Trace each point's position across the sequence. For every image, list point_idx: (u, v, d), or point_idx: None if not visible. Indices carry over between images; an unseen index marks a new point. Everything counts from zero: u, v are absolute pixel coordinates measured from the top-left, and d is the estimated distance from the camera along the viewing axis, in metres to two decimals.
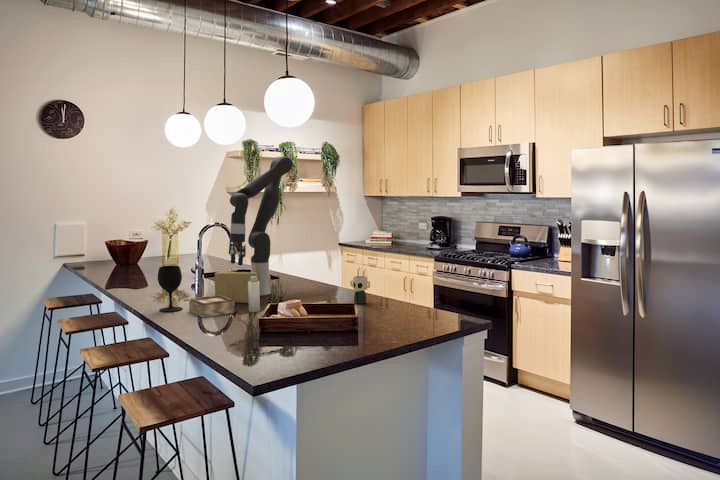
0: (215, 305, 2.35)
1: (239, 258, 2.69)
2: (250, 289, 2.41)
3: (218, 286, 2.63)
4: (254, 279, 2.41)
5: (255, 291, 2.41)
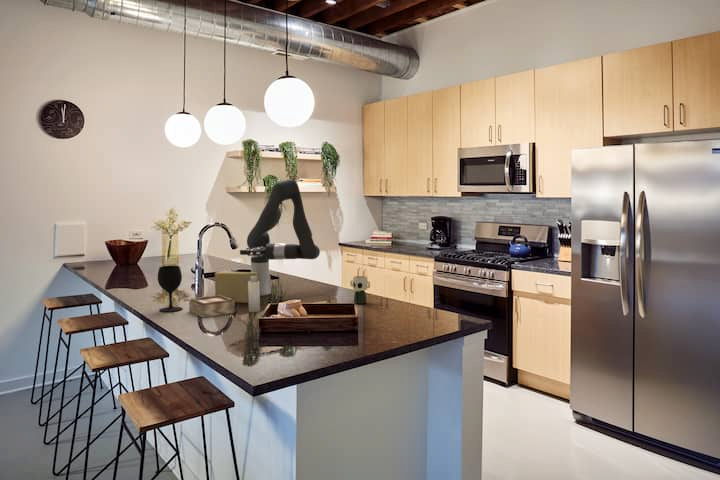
0: (215, 305, 2.35)
1: None
2: (250, 289, 2.41)
3: (219, 286, 2.63)
4: (254, 279, 2.41)
5: (255, 291, 2.41)
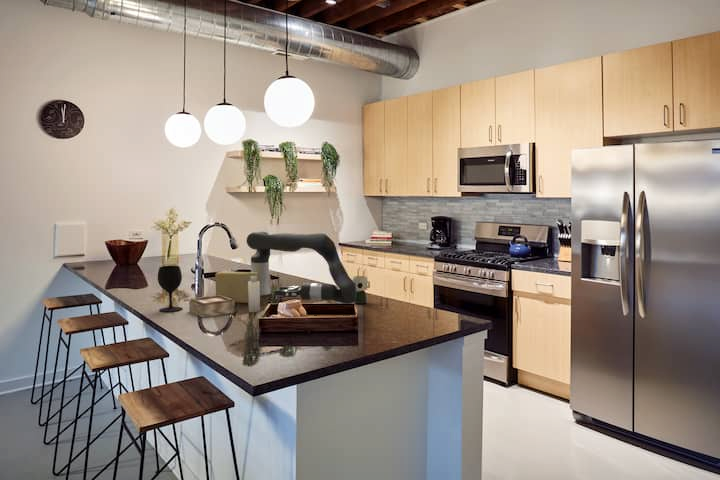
0: (215, 305, 2.35)
1: (287, 290, 2.46)
2: (250, 289, 2.41)
3: (219, 286, 2.63)
4: (254, 279, 2.41)
5: (255, 291, 2.41)
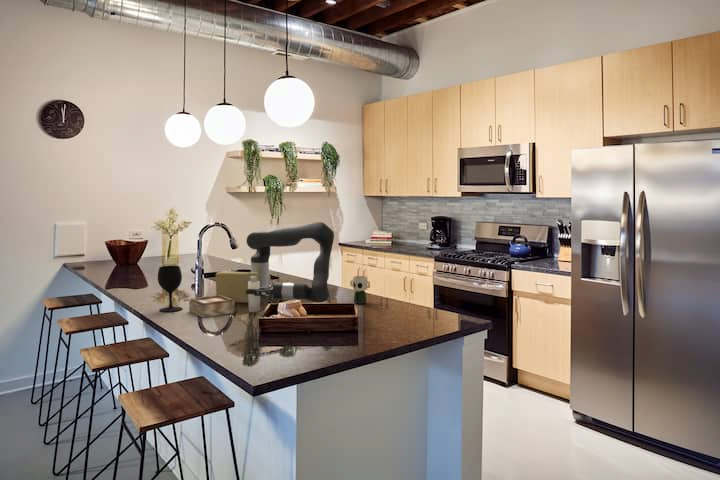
0: (215, 305, 2.35)
1: None
2: None
3: (219, 286, 2.63)
4: (254, 279, 2.41)
5: None
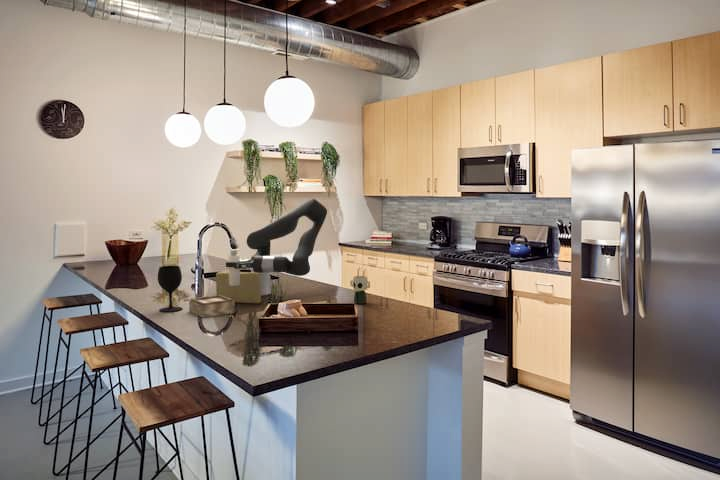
0: (215, 305, 2.35)
1: None
2: None
3: (220, 286, 2.63)
4: (234, 252, 2.39)
5: None
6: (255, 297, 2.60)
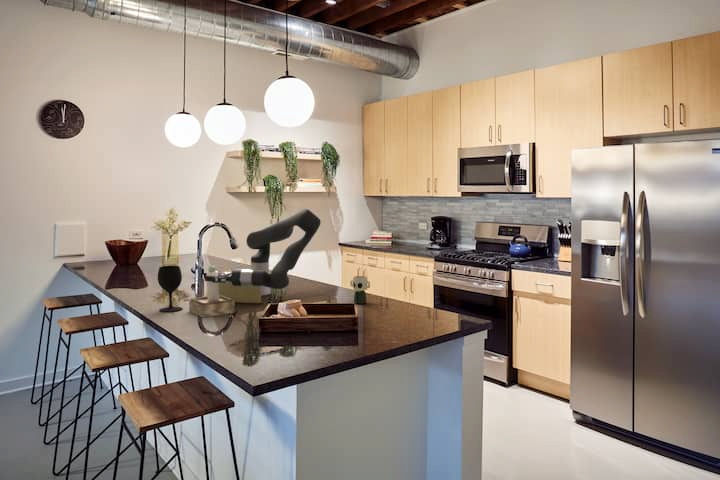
0: (215, 305, 2.35)
1: (219, 277, 2.44)
2: None
3: (220, 286, 2.63)
4: (212, 269, 2.38)
5: None
6: (255, 297, 2.60)
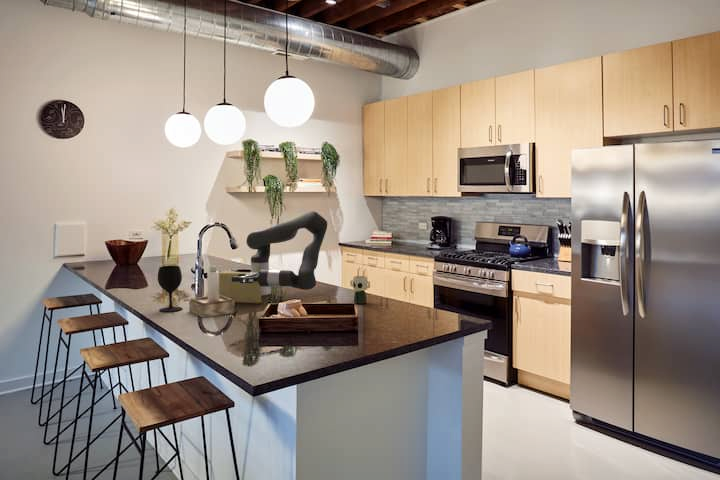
0: (215, 305, 2.35)
1: None
2: (209, 279, 2.38)
3: (220, 286, 2.63)
4: (213, 269, 2.38)
5: (214, 281, 2.38)
6: (255, 297, 2.60)
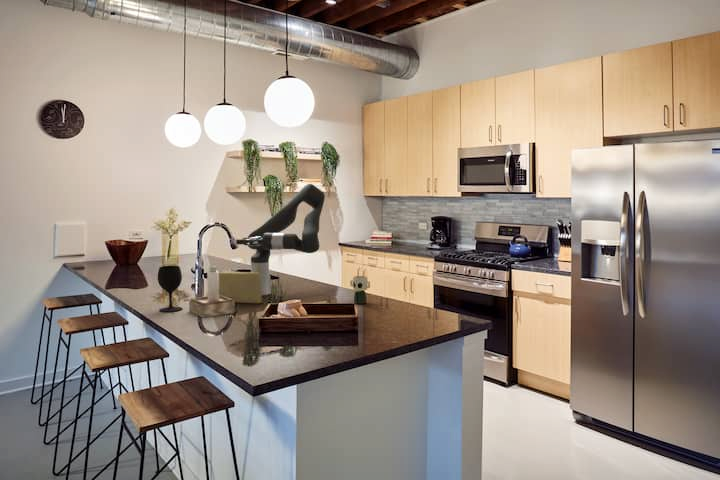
0: (215, 305, 2.35)
1: None
2: (209, 279, 2.38)
3: (221, 286, 2.63)
4: (213, 269, 2.38)
5: (214, 281, 2.38)
6: (256, 297, 2.60)
